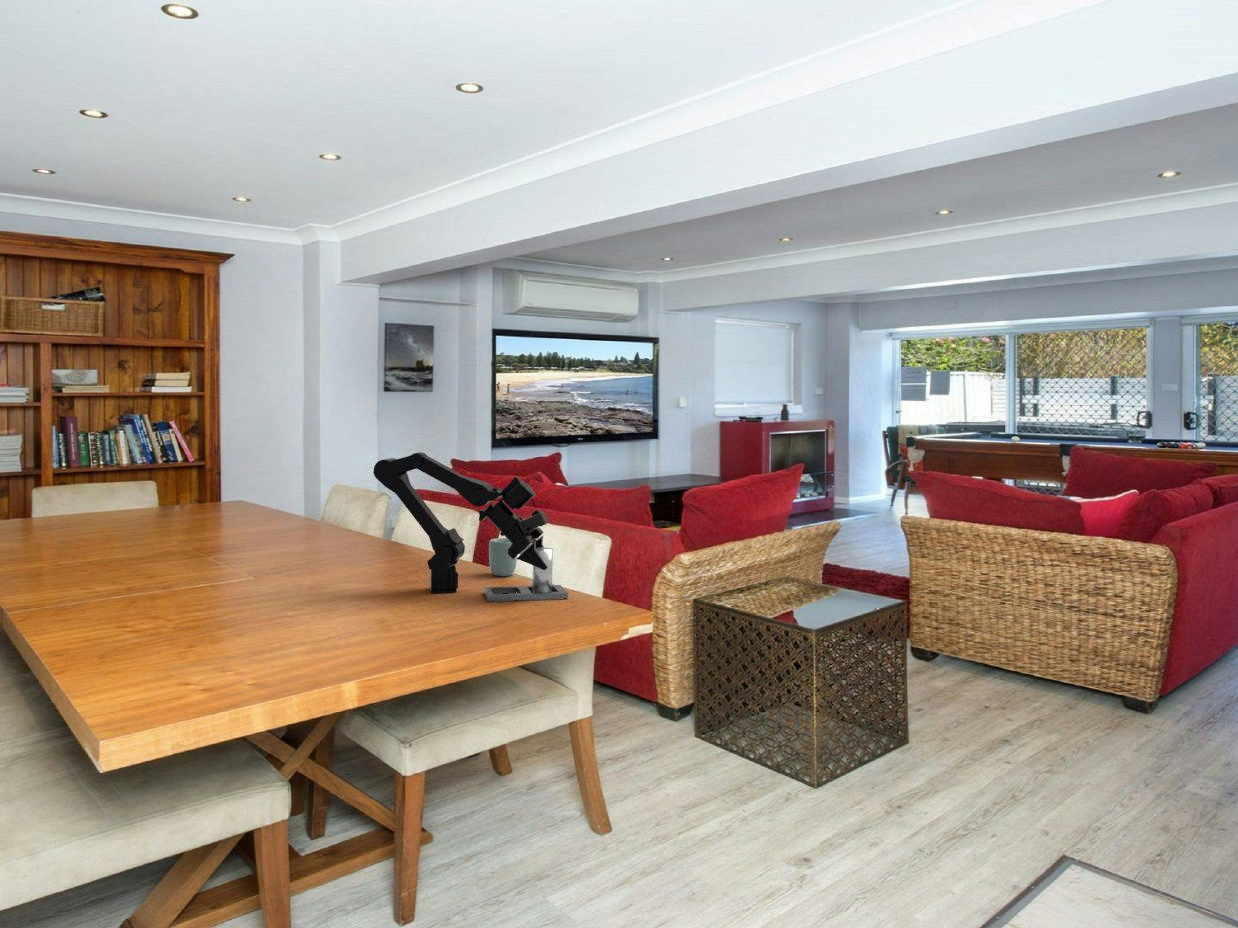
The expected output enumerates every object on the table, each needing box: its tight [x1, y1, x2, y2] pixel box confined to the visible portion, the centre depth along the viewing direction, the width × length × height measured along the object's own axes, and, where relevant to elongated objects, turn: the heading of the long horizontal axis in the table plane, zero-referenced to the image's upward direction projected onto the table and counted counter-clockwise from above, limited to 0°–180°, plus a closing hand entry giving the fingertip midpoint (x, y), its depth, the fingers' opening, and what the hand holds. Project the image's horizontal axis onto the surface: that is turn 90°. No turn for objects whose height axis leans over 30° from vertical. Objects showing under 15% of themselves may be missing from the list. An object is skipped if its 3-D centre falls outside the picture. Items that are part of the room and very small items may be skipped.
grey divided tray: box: [483, 584, 569, 603], centre depth 228 cm, size 20×10×2 cm, turn 105°
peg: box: [532, 546, 554, 593], centre depth 229 cm, size 5×5×12 cm
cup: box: [488, 537, 518, 577], centre depth 254 cm, size 8×8×10 cm
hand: (548, 566), depth 229 cm, fingers open, 6 cm apart
